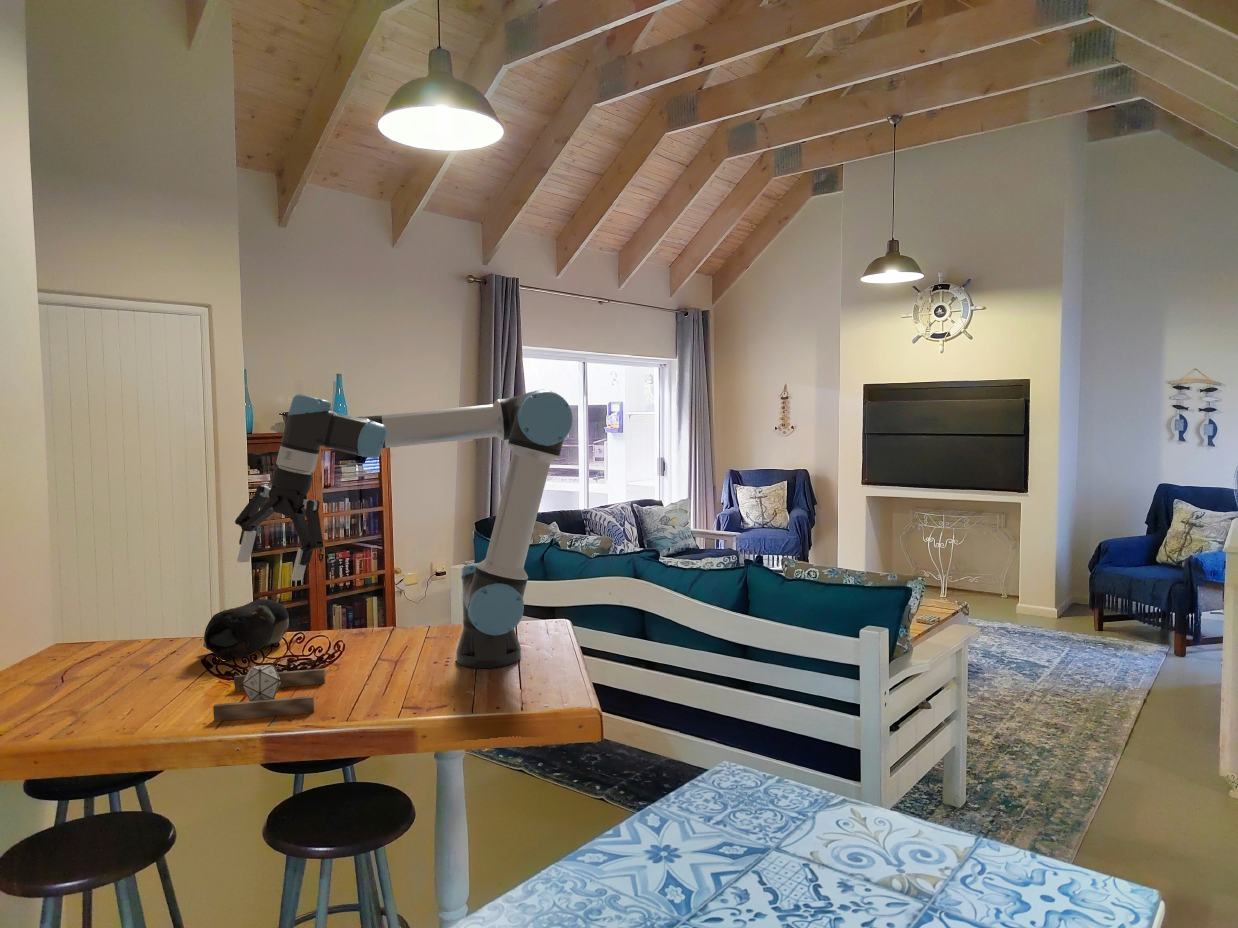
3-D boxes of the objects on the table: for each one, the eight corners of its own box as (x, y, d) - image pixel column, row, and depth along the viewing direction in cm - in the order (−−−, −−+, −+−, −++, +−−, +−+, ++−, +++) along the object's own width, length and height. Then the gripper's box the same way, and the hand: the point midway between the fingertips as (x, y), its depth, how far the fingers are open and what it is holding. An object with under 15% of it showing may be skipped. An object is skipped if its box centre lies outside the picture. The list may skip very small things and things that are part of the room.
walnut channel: (325, 681, 173) (324, 668, 173) (313, 712, 156) (313, 697, 156) (235, 689, 169) (235, 675, 169) (213, 721, 152) (213, 706, 152)
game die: (266, 721, 161) (262, 693, 155) (232, 704, 162) (226, 676, 156) (295, 688, 168) (291, 660, 161) (261, 672, 169) (257, 644, 163)
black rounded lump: (201, 683, 189) (175, 634, 188) (255, 652, 209) (232, 607, 209) (266, 651, 185) (240, 601, 184) (315, 623, 205) (291, 577, 205)
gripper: (232, 454, 162) (207, 555, 162) (333, 483, 155) (307, 589, 155) (258, 457, 169) (234, 553, 169) (356, 485, 162) (331, 586, 162)
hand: (269, 570), depth 162 cm, fingers open, 13 cm apart
